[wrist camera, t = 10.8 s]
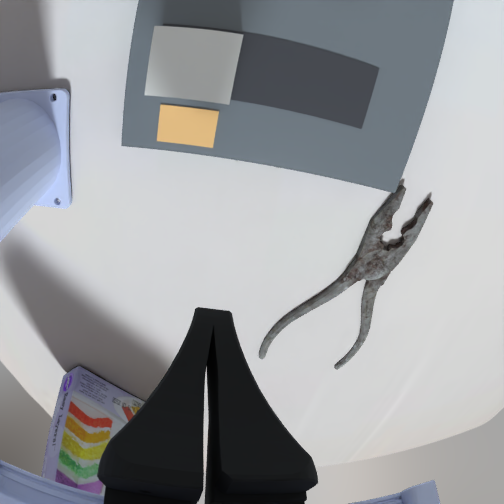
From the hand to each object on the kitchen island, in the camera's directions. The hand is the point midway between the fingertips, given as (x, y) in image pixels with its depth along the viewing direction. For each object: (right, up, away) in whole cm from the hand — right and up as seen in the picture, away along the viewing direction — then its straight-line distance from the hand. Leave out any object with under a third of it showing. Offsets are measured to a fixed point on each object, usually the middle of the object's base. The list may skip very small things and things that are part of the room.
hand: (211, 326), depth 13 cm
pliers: (+8, 0, +13) cm, 15 cm away
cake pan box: (-13, -16, +23) cm, 30 cm away
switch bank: (+4, +16, 0) cm, 17 cm away
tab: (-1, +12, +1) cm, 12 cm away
